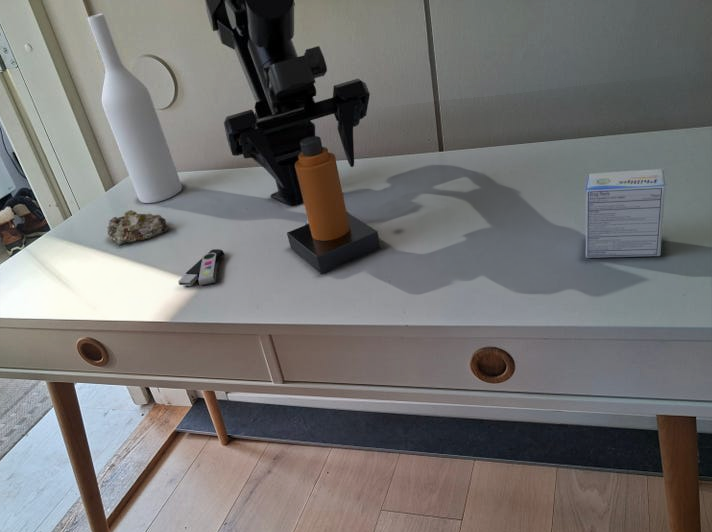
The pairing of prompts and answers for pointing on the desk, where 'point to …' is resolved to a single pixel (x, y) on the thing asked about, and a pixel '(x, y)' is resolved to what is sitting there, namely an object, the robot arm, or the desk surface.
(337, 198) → the amber bottle
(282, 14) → the robot arm
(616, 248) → the medicine box
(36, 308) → the desk surface
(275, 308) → the desk surface
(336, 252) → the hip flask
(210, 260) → the usb flash drive
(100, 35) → the bottle
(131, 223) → the mineral rock
